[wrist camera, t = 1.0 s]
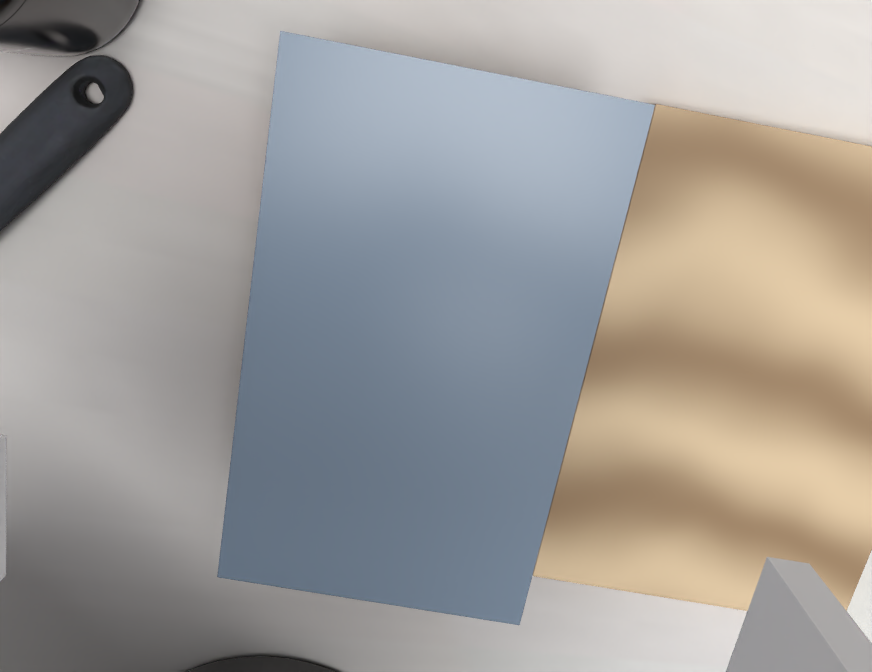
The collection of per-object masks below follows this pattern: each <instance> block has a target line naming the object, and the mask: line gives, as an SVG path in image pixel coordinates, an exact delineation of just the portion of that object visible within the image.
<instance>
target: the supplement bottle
mask: <svg viewBox="0 0 872 672" xmlns="http://www.w3.org/2000/svg"><path fill="white" fill-rule="evenodd" d="M138 2H139V0H0V51H1V52H10V53H20V54H30V55H40V56H56V57H60V56H73V55H79V54H83V53H87V52H90V51H93V50H95V49H97V48H99V47H101V46H103V45H104V44H106V43H108V42H109V41H110V40H112V39H113V38H114V37H115V36H117V35H118V34H119V32H120V31H121V30H122V29H123V28H124V27H125V26H126V24H127V23H128V22H129V20H130V19H131V17H132V15H133V14H134V12H135V10H136V7H137V5H138Z"/></svg>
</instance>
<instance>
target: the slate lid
mask: <svg viewBox="0 0 872 672" xmlns="http://www.w3.org/2000/svg"><path fill="white" fill-rule="evenodd" d="M654 107H655V105H653V104H648V103H643V102H638V101H633V100H628V99H623V98H618V97H613V96H608V95H603V94H598V93H593V92H587V91H582V90H577V89H572V88H567V87H562V86H557V85H552V84H547V83H542V82H537V81H532V80H527V79H522V78H516V77H511V76H506V75H501V74H496V73H491V72H486V71H481V70H476V69H471V68H466V67H461V66H456V65H451V64H446V63H440V62H435V61H430V60H425V59H420V58H415V57H410V56H405V55H400V54H395V53H390V52H385V51H380V50H375V49H369V48H364V47H359V46H354V45H349V44H344V43H339V42H334V41H329V40H324V39H319V38H314V37H309V36H304V35H299V34H293V33H288V32H283V31H280V39H279V48H278V56H277V65H276V74H275V82H274V91H273V100H272V108H271V117H270V125H269V134H268V143H267V151H266V160H265V169H264V177H263V186H262V195H261V203H260V212H259V221H258V229H257V238H256V247H255V255H254V264H253V273H252V281H251V290H250V299H249V307H248V316H247V325H246V333H245V342H244V351H243V359H242V368H241V377H240V385H239V394H238V403H237V411H236V420H235V429H234V437H233V446H232V455H231V463H230V472H229V481H228V489H227V498H226V507H225V515H224V524H223V533H222V541H221V550H220V559H219V567H218V576H217V577H219V578H226V579H232V580H238V581H245V582H251V583H257V584H263V585H270V586H276V587H282V588H289V589H295V590H301V591H308V592H314V593H320V594H326V595H333V596H339V597H345V598H352V599H358V600H364V601H370V602H377V603H383V604H389V605H396V606H402V607H408V608H415V609H421V610H427V611H433V612H440V613H446V614H452V615H459V616H465V617H471V618H478V619H484V620H490V621H496V622H503V623H509V624H515V625H520V621H521V617H522V613H523V609H524V606H525V602H526V598H527V594H528V590H529V586H530V583H531V579H532V575H533V571H534V567H535V563H536V560H537V556H538V552H539V548H540V544H541V540H542V537H543V533H544V529H545V525H546V521H547V517H548V514H549V510H550V506H551V502H552V498H553V494H554V491H555V487H556V483H557V479H558V475H559V471H560V468H561V464H562V460H563V456H564V452H565V448H566V445H567V441H568V437H569V433H570V429H571V425H572V422H573V418H574V414H575V410H576V406H577V402H578V399H579V395H580V391H581V387H582V383H583V379H584V376H585V372H586V368H587V364H588V360H589V356H590V353H591V349H592V345H593V341H594V337H595V333H596V330H597V326H598V322H599V318H600V314H601V310H602V307H603V303H604V299H605V295H606V291H607V287H608V284H609V280H610V276H611V272H612V268H613V264H614V261H615V257H616V253H617V249H618V245H619V241H620V238H621V234H622V230H623V226H624V222H625V218H626V215H627V211H628V207H629V203H630V199H631V195H632V192H633V188H634V184H635V180H636V176H637V172H638V169H639V165H640V161H641V157H642V153H643V149H644V146H645V142H646V138H647V134H648V130H649V126H650V123H651V119H652V115H653V111H654Z"/></svg>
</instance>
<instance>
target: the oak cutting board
mask: <svg viewBox="0 0 872 672" xmlns="http://www.w3.org/2000/svg"><path fill="white" fill-rule="evenodd" d="M653 105H655V107H654V111H653V115H652V119H651V123H650V126H649V130H648V134H647V138H646V142H645V146H644V149H643V153H642V157H641V161H640V165H639V169H638V172H637V176H636V180H635V184H634V188H633V192H632V195H631V199H630V203H629V207H628V211H627V215H626V218H625V222H624V226H623V230H622V234H621V238H620V241H619V245H618V249H617V253H616V257H615V261H614V264H613V268H612V272H611V276H610V280H609V284H608V287H607V291H606V295H605V299H604V303H603V307H602V310H601V314H600V318H599V322H598V326H597V330H596V333H595V337H594V341H593V345H592V349H591V353H590V356H589V360H588V364H587V368H586V372H585V376H584V379H583V383H582V387H581V391H580V395H579V399H578V402H577V406H576V410H575V414H574V418H573V422H572V425H571V429H570V433H569V437H568V441H567V445H566V448H565V452H564V456H563V460H562V464H561V468H560V471H559V475H558V479H557V483H556V487H555V491H554V494H553V498H552V502H551V506H550V510H549V514H548V517H547V521H546V525H545V529H544V533H543V537H542V540H541V544H540V548H539V552H538V556H537V560H536V563H535V567H534V571H533V576H536V577H542V578H548V579H554V580H561V581H567V582H573V583H579V584H585V585H591V586H598V587H604V588H610V589H616V590H622V591H628V592H635V593H641V594H647V595H653V596H659V597H665V598H671V599H678V600H684V601H690V602H696V603H702V604H708V605H715V606H721V607H727V608H733V609H739V610H745V611H748V608H749V606H750V603H751V600H752V597H753V594H754V592H755V589H756V586H757V583H758V580H759V578H760V575H761V572H762V569H763V567H764V564H765V561H766V558H767V557H772V558H778V559H784V560H790V561H797V562H803V563H809V564H810V565H811V566H812V568H813V569H814V570H815V571H816V573H817V574H818V575H819V577H820V578H821V579H822V580H823V582H824V583H825V584H826V586H827V587H828V588H829V589H830V591H831V592H832V593H833V595H834V596H835V597H836V598H837V600H838V601H839V602H840V603H841V605H842V606H843V607H844V609H845V610H846V611H847V608H848V606H849V603H850V601H851V599H852V596H853V594H854V591H855V589H856V586H857V584H858V582H859V579H860V577H861V574H862V572H863V569H864V567H865V565H866V562H867V560H868V557H869V555H870V553H871V550H872V146H866V145H861V144H856V143H851V142H846V141H841V140H836V139H831V138H826V137H821V136H816V135H811V134H806V133H801V132H795V131H790V130H785V129H780V128H775V127H770V126H765V125H760V124H755V123H750V122H745V121H740V120H735V119H730V118H725V117H719V116H714V115H709V114H704V113H699V112H694V111H689V110H684V109H679V108H674V107H669V106H664V105H659V104H653Z"/></svg>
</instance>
